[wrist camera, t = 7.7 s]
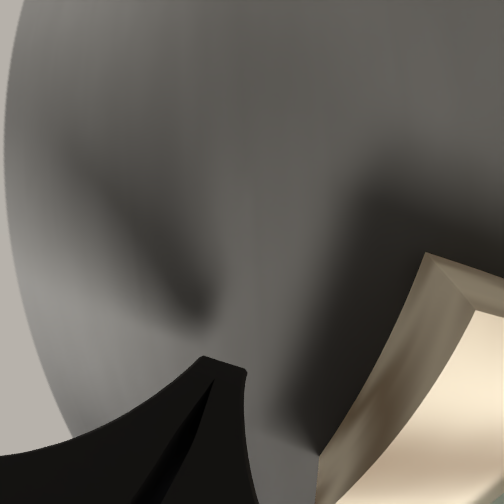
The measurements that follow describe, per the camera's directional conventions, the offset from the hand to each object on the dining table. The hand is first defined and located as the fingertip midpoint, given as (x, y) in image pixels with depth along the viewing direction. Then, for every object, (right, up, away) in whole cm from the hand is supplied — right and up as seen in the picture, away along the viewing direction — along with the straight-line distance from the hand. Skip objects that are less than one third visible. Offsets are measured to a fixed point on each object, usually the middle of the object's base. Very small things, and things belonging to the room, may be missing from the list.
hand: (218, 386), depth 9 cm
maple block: (+9, -2, +1) cm, 9 cm away
